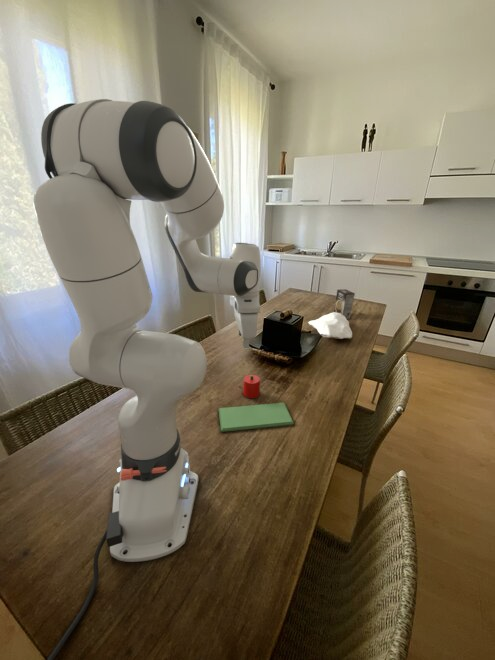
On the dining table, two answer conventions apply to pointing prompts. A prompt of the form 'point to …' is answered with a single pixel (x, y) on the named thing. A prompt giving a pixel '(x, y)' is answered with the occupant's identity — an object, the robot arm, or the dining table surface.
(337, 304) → the coffee box
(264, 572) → the dining table surface
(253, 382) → the pepper
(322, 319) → the crumpled cloth
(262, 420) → the towel
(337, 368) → the dining table surface
